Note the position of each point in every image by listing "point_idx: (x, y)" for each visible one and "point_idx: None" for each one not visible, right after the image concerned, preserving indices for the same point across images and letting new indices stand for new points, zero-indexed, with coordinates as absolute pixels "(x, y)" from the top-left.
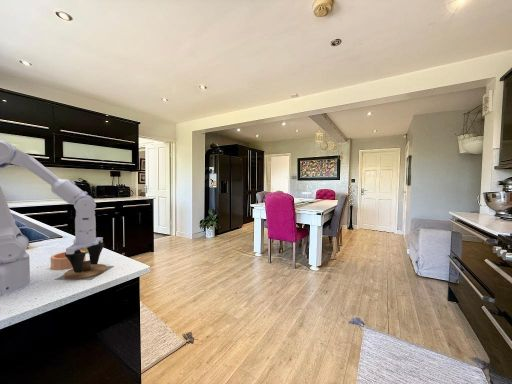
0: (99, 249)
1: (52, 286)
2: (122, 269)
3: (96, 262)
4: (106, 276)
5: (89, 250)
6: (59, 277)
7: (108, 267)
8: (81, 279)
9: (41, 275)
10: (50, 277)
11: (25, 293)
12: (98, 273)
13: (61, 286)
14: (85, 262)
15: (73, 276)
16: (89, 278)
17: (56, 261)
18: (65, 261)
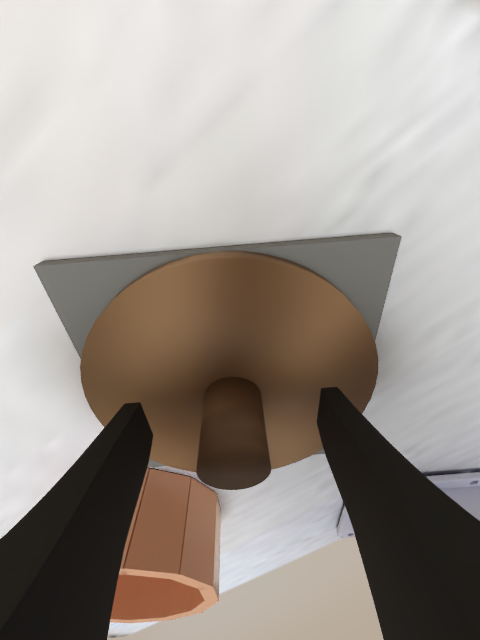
0: (9, 621)
1: (419, 407)
2: (36, 98)
3: (133, 417)
4: (277, 161)
5: (99, 630)
6: (320, 450)
7: (90, 298)
8: (374, 323)
9: (271, 512)
10: (294, 480)
11: (474, 443)
12: (283, 261)
13: (435, 368)
14: (256, 465)
15: (358, 392)
16: (363, 276)
17: (217, 572)
18: (199, 552)
